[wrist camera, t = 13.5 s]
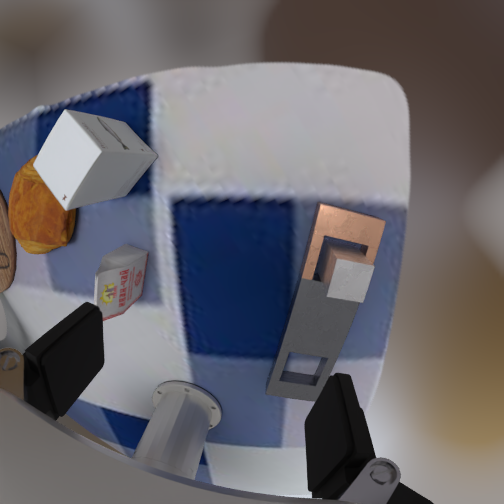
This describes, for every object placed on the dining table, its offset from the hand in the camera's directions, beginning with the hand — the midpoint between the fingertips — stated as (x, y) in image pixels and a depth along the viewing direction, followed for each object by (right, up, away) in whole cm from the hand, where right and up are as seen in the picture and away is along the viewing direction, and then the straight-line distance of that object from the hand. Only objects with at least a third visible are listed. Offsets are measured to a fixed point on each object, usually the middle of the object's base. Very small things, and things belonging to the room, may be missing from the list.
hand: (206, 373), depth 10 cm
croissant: (-30, +12, +26) cm, 42 cm away
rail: (+11, -3, +26) cm, 29 cm away
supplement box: (-15, +17, +23) cm, 32 cm away
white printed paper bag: (-15, +2, +28) cm, 31 cm away
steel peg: (+12, +4, +24) cm, 27 cm away
